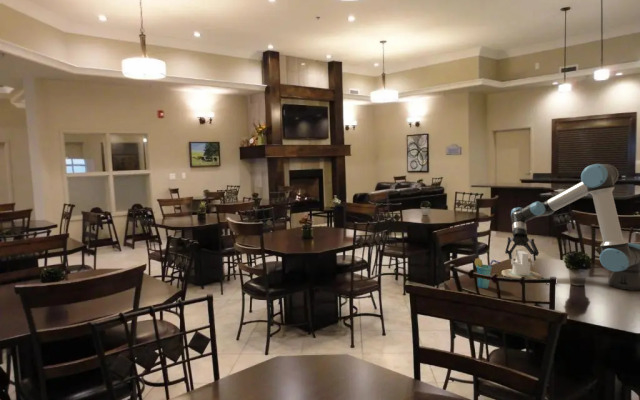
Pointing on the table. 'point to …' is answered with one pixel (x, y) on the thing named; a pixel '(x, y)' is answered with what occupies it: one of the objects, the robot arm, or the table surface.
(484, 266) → the cup
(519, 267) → the base with upright slab
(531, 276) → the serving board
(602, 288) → the table surface
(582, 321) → the table surface
